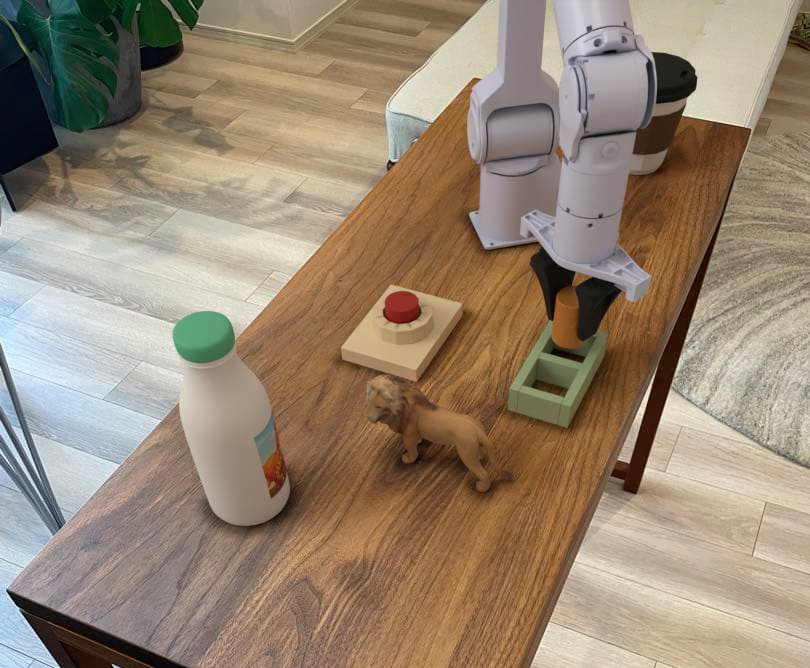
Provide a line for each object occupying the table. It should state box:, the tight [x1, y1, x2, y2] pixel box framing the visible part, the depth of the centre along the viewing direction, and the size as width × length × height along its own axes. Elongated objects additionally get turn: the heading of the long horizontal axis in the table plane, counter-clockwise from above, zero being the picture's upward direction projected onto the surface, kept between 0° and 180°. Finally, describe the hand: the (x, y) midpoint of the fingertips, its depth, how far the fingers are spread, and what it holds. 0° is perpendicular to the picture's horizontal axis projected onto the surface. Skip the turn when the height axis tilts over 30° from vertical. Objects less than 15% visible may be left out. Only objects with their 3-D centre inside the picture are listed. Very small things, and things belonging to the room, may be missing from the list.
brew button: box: [385, 291, 419, 324], centre depth 89 cm, size 4×4×2 cm
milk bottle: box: [172, 310, 291, 527], centre depth 71 cm, size 8×8×20 cm
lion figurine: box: [363, 374, 515, 493], centre depth 77 cm, size 15×5×9 cm, turn 69°
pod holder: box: [507, 320, 609, 429], centre depth 86 cm, size 6×12×3 cm, turn 154°
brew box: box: [340, 284, 464, 383], centre depth 91 cm, size 12×9×4 cm
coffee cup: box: [629, 51, 698, 176], centre depth 107 cm, size 11×11×12 cm
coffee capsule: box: [552, 285, 587, 349], centre depth 83 cm, size 4×4×5 cm
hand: (571, 325), depth 84 cm, fingers closed on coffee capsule, 3 cm apart
